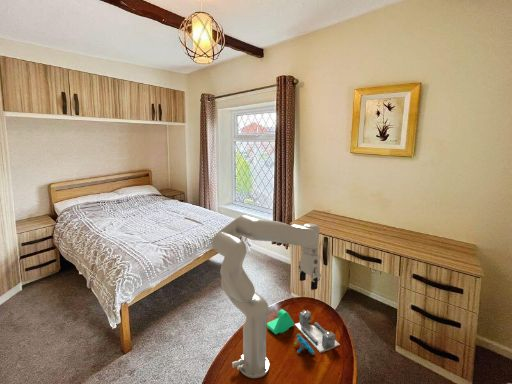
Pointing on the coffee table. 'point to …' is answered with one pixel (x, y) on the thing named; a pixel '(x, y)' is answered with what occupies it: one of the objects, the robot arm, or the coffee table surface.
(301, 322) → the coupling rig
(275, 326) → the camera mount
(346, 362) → the coffee table surface
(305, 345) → the gear
